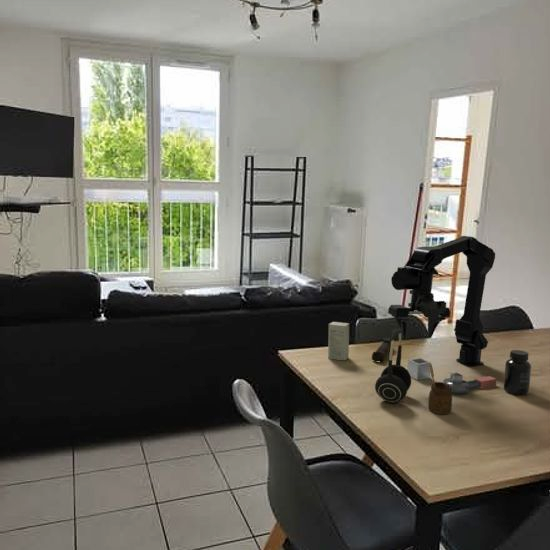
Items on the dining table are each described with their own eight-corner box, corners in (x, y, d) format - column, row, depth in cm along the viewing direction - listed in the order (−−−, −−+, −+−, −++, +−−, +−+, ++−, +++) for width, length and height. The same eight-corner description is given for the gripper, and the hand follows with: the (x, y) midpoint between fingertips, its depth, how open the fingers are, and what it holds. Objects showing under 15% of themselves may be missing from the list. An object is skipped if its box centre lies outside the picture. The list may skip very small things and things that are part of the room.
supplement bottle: (527, 388, 155) (531, 350, 153) (529, 397, 149) (534, 357, 147) (502, 385, 158) (506, 347, 156) (503, 393, 151) (508, 354, 149)
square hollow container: (419, 372, 167) (420, 357, 166) (430, 378, 162) (431, 362, 161) (406, 374, 165) (407, 359, 164) (417, 380, 160) (418, 364, 159)
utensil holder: (448, 417, 135) (451, 373, 133) (423, 411, 138) (427, 368, 136) (453, 409, 140) (457, 366, 138) (430, 403, 143) (433, 361, 141)
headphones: (371, 405, 141) (375, 334, 138) (382, 386, 155) (386, 321, 151) (403, 411, 138) (408, 338, 135) (412, 391, 151) (417, 325, 148)
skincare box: (348, 357, 180) (350, 323, 178) (345, 361, 176) (346, 326, 174) (331, 354, 182) (332, 320, 180) (327, 358, 178) (328, 323, 176)
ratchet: (483, 379, 162) (484, 364, 161) (501, 388, 156) (503, 372, 155) (437, 387, 155) (438, 371, 154) (454, 396, 148) (456, 380, 147)
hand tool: (383, 364, 175) (383, 350, 174) (371, 362, 176) (372, 348, 176) (396, 348, 191) (397, 336, 191) (385, 347, 193) (386, 335, 192)
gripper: (408, 293, 150) (402, 346, 152) (464, 294, 155) (457, 344, 157) (389, 286, 160) (384, 335, 163) (442, 287, 165) (437, 334, 168)
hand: (416, 337), depth 162 cm, fingers open, 9 cm apart
